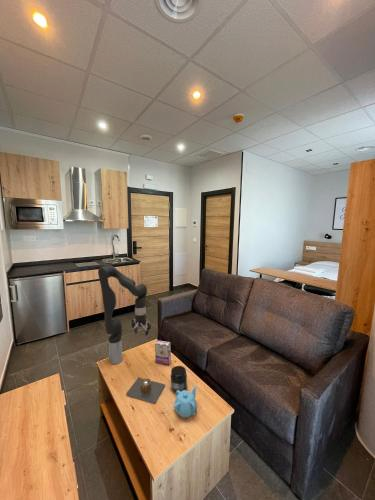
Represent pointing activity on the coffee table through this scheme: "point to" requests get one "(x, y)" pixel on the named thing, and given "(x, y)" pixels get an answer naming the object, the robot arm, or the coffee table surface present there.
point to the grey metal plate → (149, 396)
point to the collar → (146, 386)
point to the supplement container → (178, 378)
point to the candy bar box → (163, 352)
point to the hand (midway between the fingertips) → (141, 333)
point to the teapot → (185, 403)
